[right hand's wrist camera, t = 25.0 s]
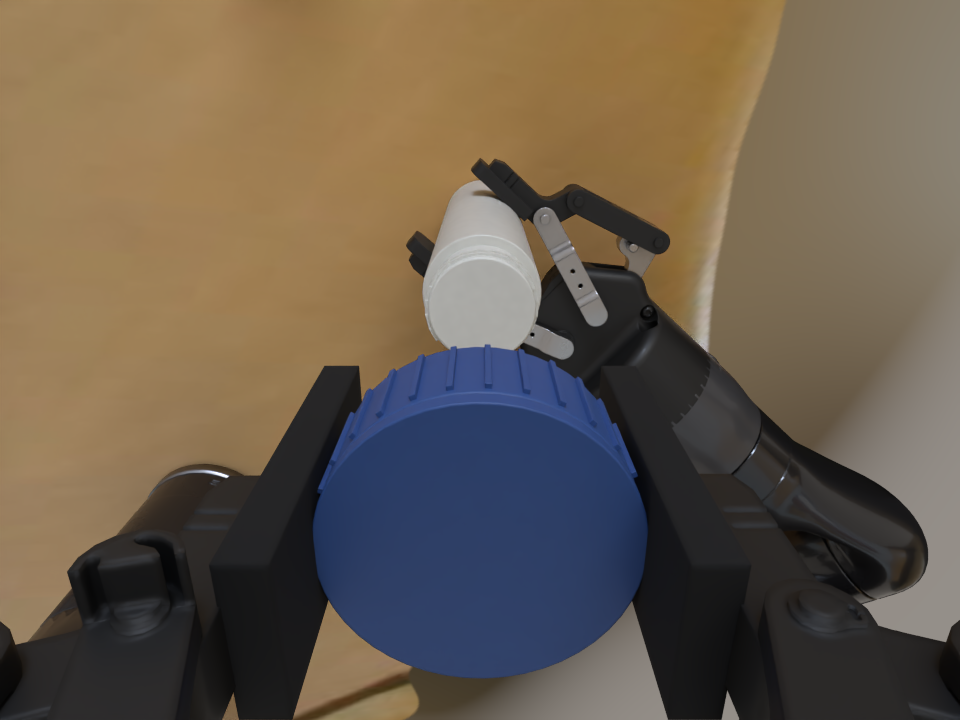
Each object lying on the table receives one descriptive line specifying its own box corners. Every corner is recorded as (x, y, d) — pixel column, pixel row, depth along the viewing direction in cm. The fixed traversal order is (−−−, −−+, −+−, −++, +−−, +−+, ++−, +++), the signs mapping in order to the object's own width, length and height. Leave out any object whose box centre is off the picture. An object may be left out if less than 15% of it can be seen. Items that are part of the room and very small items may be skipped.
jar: (497, 166, 40) (510, 222, 21) (529, 231, 41) (567, 336, 23) (433, 201, 40) (392, 284, 22) (467, 264, 42) (456, 390, 24)
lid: (334, 578, 13) (306, 670, 11) (338, 327, 11) (305, 380, 9) (597, 599, 14) (619, 693, 11) (650, 356, 12) (688, 415, 9)
